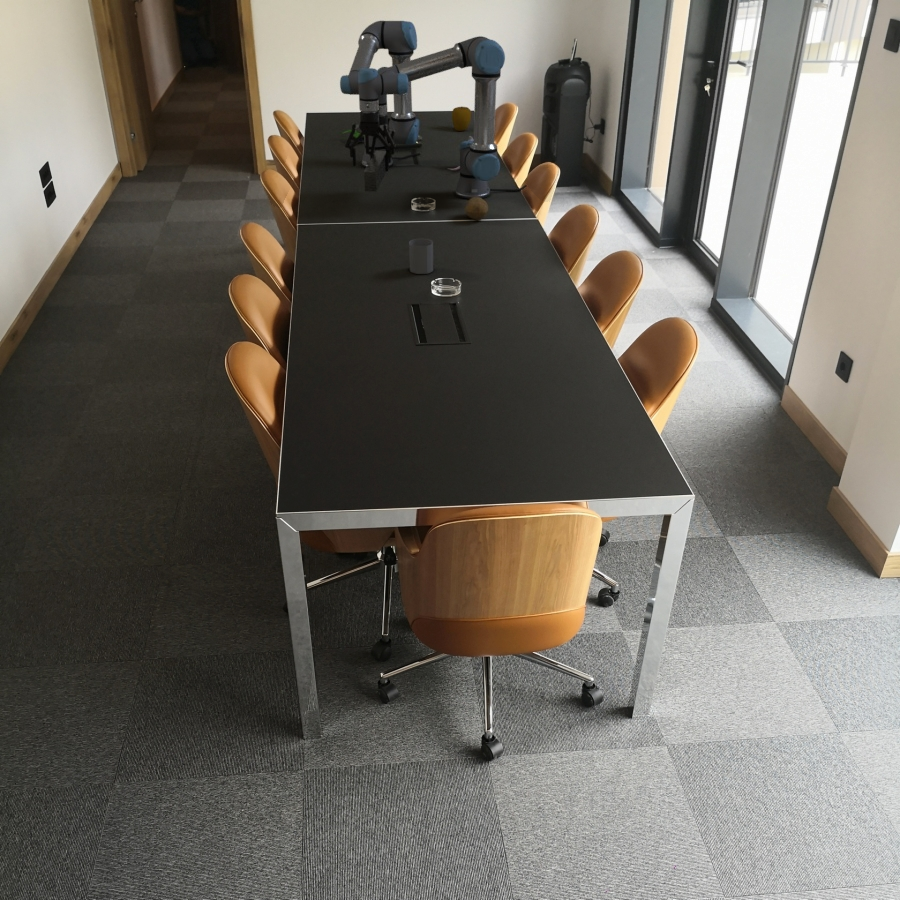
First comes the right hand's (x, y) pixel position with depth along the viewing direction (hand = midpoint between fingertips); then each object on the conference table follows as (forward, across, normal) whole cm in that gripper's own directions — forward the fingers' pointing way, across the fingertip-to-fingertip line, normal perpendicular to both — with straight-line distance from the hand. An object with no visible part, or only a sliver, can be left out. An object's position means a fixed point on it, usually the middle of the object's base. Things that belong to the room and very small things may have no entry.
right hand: (371, 166), depth 354 cm
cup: (+19, +28, -65) cm, 73 cm away
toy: (+19, +34, +67) cm, 77 cm away
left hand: (+8, 0, +26) cm, 28 cm away
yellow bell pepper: (+18, +27, +153) cm, 156 cm away
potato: (+19, +44, -5) cm, 48 cm away
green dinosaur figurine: (+19, -21, +120) cm, 123 cm away
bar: (+9, 0, +13) cm, 16 cm away
